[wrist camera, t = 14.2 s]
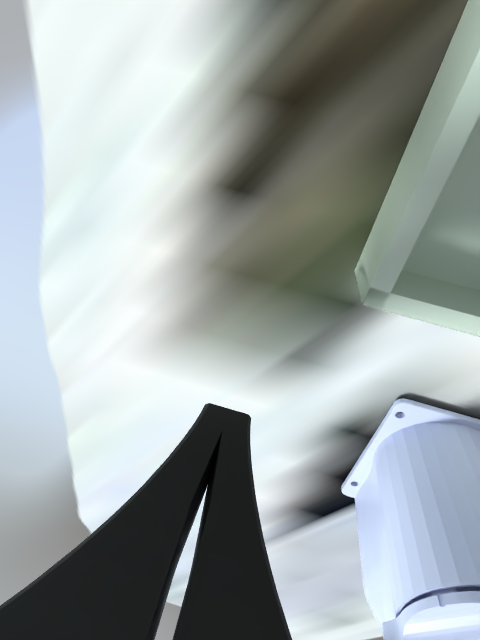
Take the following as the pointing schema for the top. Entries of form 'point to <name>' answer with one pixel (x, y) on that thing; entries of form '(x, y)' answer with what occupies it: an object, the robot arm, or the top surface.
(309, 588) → the top surface
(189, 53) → the top surface
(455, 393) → the top surface
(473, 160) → the bin
